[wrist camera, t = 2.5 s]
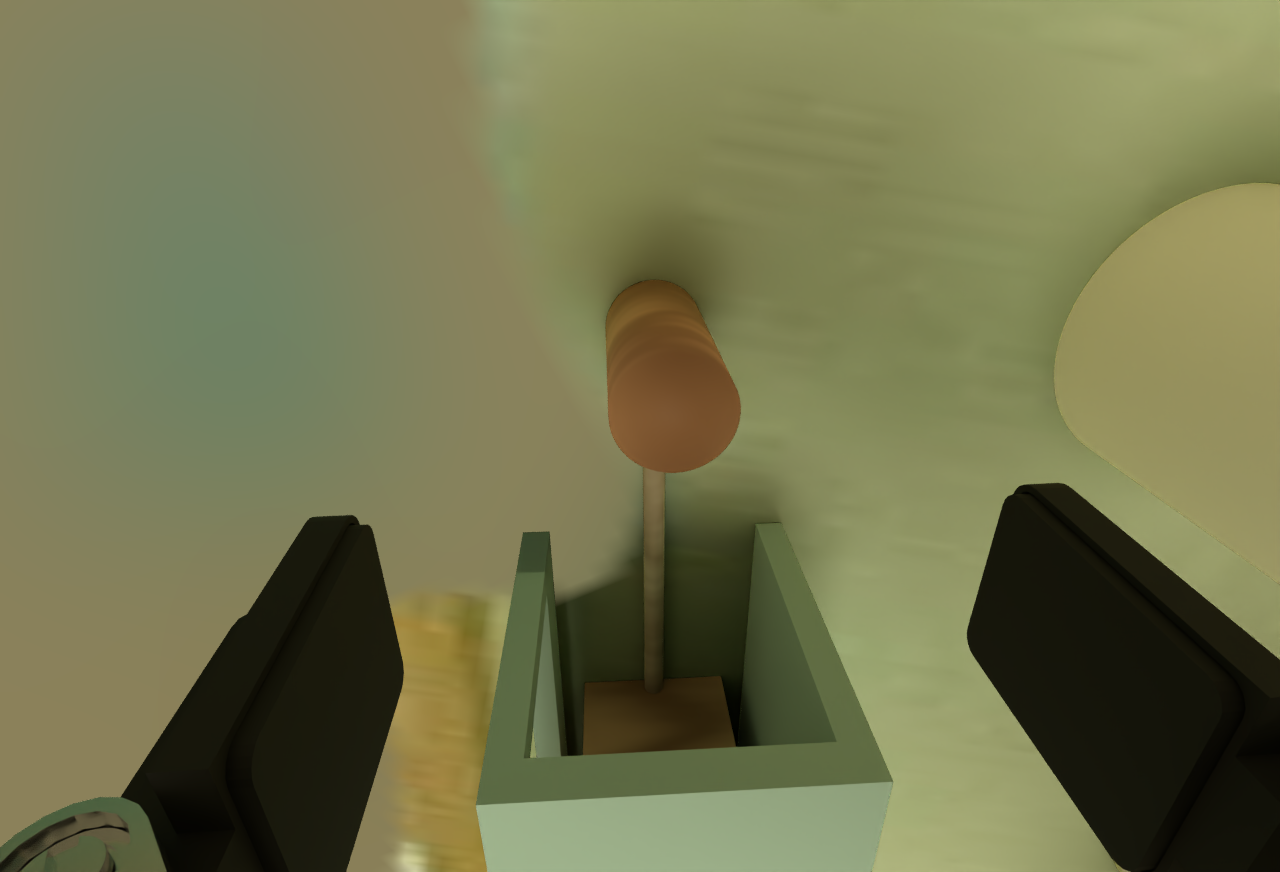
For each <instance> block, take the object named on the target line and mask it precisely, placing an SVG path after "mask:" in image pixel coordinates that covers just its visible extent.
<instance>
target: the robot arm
mask: <svg viewBox="0 0 1280 872" xmlns="http://www.w3.org/2000/svg"><path fill="white" fill-rule="evenodd" d="M967 640H968V645H969V648H970V651H971V653H972V654H973V656H974V657H975V659H976V660H977V662H978V663H979V665H980V666H981V668H982V669H983V671H984V672H985V674H986V675H987V677H988V678H989V679H990V681H991V682H992V684H993V685H994V687H995V688H996V690H997V691H998V693H999V694H1000V696H1001V697H1002V698H1003V700H1004V701H1005V703H1006V704H1007V706H1008V707H1009V709H1010V710H1011V712H1012V713H1013V715H1014V716H1015V717H1016V719H1017V720H1018V722H1019V723H1020V725H1021V726H1022V728H1023V729H1024V731H1025V732H1026V734H1027V735H1028V736H1029V738H1030V739H1031V741H1032V742H1033V744H1034V745H1035V747H1036V748H1037V750H1038V751H1039V753H1040V754H1041V755H1042V757H1043V758H1044V760H1045V761H1046V763H1047V764H1048V766H1049V767H1050V769H1051V770H1052V772H1053V773H1054V774H1055V776H1056V777H1057V779H1058V780H1059V782H1060V783H1061V785H1062V786H1063V788H1064V789H1065V791H1066V792H1067V793H1068V795H1069V796H1070V798H1071V799H1072V801H1073V802H1074V804H1075V805H1076V807H1077V808H1078V810H1079V811H1080V812H1081V814H1082V815H1083V817H1084V818H1085V820H1086V821H1087V823H1088V824H1089V826H1090V827H1091V829H1092V830H1093V831H1094V833H1095V834H1096V836H1097V837H1098V839H1099V840H1100V842H1101V843H1102V845H1103V846H1104V848H1105V849H1106V850H1107V852H1108V853H1109V855H1110V856H1111V858H1112V859H1113V860H1114V863H1115V865H1116V867H1117V869H1118V870H1119V872H1280V660H1279V659H1278V658H1277V657H1276V656H1275V655H1273V654H1272V653H1271V652H1270V651H1268V650H1267V649H1266V648H1265V647H1264V646H1262V645H1261V644H1260V643H1259V642H1258V641H1256V640H1255V639H1254V638H1253V637H1251V636H1250V635H1249V634H1248V633H1247V632H1245V631H1244V630H1243V629H1242V628H1241V627H1239V626H1238V625H1237V624H1236V623H1234V622H1233V621H1232V620H1231V619H1230V618H1228V617H1227V616H1226V615H1225V614H1224V613H1222V612H1221V611H1220V610H1219V609H1217V608H1216V607H1215V606H1214V605H1213V604H1211V603H1210V602H1209V601H1208V600H1207V599H1205V598H1204V597H1203V596H1202V595H1200V594H1199V593H1198V592H1197V591H1196V590H1194V589H1193V588H1192V587H1191V586H1189V585H1188V584H1187V583H1186V582H1185V581H1183V580H1182V579H1181V578H1180V577H1179V576H1177V575H1176V574H1175V573H1174V572H1172V571H1171V570H1170V569H1169V568H1168V567H1166V566H1165V565H1164V564H1163V563H1162V562H1160V561H1159V560H1158V559H1157V558H1155V557H1154V556H1153V555H1152V554H1151V553H1149V552H1148V551H1147V550H1146V549H1145V548H1143V547H1142V546H1141V545H1140V544H1138V543H1137V542H1136V541H1135V540H1134V539H1132V538H1131V537H1130V536H1129V535H1128V534H1126V533H1125V532H1124V531H1123V530H1121V529H1120V528H1119V527H1118V526H1117V525H1115V524H1114V523H1113V522H1112V521H1111V520H1109V519H1108V518H1107V517H1106V516H1104V515H1103V514H1102V513H1101V512H1100V511H1098V510H1097V509H1096V508H1095V507H1094V506H1092V505H1091V504H1090V503H1089V502H1087V501H1086V500H1085V499H1084V498H1083V497H1081V496H1080V495H1079V494H1078V493H1077V492H1075V491H1074V490H1073V489H1072V488H1070V487H1069V486H1067V485H1065V484H1062V483H1048V484H1026V485H1022V486H1019V487H1018V488H1017V489H1016V490H1015V492H1014V494H1013V495H1010V496H1008V497H1007V498H1006V499H1005V501H1004V503H1003V506H1002V510H1001V513H1000V517H999V520H998V524H997V527H996V531H995V534H994V538H993V541H992V545H991V548H990V552H989V555H988V559H987V562H986V566H985V569H984V573H983V576H982V580H981V583H980V587H979V590H978V594H977V597H976V601H975V604H974V608H973V611H972V615H971V618H970V622H969V625H968V629H967ZM403 675H404V670H403V661H402V656H401V652H400V648H399V643H398V639H397V635H396V630H395V626H394V621H393V617H392V613H391V608H390V604H389V600H388V595H387V591H386V587H385V582H384V578H383V573H382V569H381V565H380V561H379V556H378V552H377V547H376V543H375V538H374V534H373V531H372V528H371V527H370V526H369V525H360V524H359V521H358V520H357V518H356V517H355V516H353V515H346V516H323V517H312V518H309V520H308V521H307V522H306V523H305V525H304V526H303V528H302V529H301V531H300V533H299V534H298V536H297V537H296V539H295V540H294V542H293V543H292V545H291V546H290V548H289V550H288V551H287V553H286V554H285V556H284V557H283V559H282V561H281V562H280V564H279V565H278V567H277V568H276V570H275V571H274V573H273V575H272V576H271V578H270V579H269V581H268V583H267V584H266V586H265V587H264V589H263V590H262V592H261V594H260V595H259V596H258V598H257V600H256V601H255V603H254V604H253V606H252V607H251V609H250V610H249V612H248V614H247V615H245V616H243V617H241V618H239V619H238V620H237V622H236V623H235V624H234V625H233V626H232V627H231V629H230V631H229V632H228V634H227V635H226V637H225V638H224V640H223V641H222V643H221V645H220V646H219V648H218V649H217V650H216V652H215V654H214V655H213V657H212V658H211V660H210V661H209V663H208V664H207V666H206V667H205V669H204V670H203V672H202V673H201V675H200V676H199V678H198V679H197V681H196V683H195V684H194V686H193V687H192V689H191V690H190V692H189V693H188V695H187V696H186V698H185V699H184V701H183V702H182V704H181V705H180V707H179V709H178V710H177V712H176V713H175V715H174V716H173V718H172V719H171V721H170V722H169V724H168V725H167V727H166V728H165V730H164V731H163V733H162V734H161V736H160V738H159V739H158V741H157V742H156V744H155V745H154V747H153V748H152V750H151V751H150V753H149V754H148V756H147V757H146V759H145V761H144V762H143V764H142V765H141V767H140V768H139V770H138V771H137V773H136V774H135V776H134V777H133V779H132V780H131V782H130V783H129V785H128V787H127V788H126V790H125V791H124V793H123V794H122V796H121V797H98V798H94V799H90V800H86V801H82V802H78V803H74V804H71V805H69V806H67V807H64V808H62V809H60V810H58V811H55V812H53V813H51V814H49V815H46V816H44V817H42V818H41V819H39V820H38V821H36V822H35V823H33V824H31V825H30V826H28V827H27V828H25V829H23V830H22V831H20V832H19V833H17V834H15V835H14V836H13V837H12V838H11V839H10V840H8V841H7V842H6V843H5V844H4V845H2V846H1V847H0V872H346V870H347V867H348V864H349V861H350V857H351V854H352V850H353V847H354V844H355V841H356V837H357V834H358V831H359V828H360V824H361V821H362V818H363V814H364V811H365V808H366V805H367V801H368V798H369V795H370V791H371V788H372V785H373V782H374V778H375V775H376V772H377V768H378V765H379V762H380V759H381V755H382V752H383V749H384V745H385V742H386V739H387V736H388V732H389V729H390V726H391V722H392V719H393V716H394V713H395V709H396V706H397V703H398V699H399V696H400V693H401V689H402V685H403Z"/></svg>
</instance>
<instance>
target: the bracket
mask: <svg viewBox="0 0 1280 872" xmlns="http://www.w3.org/2000/svg"><path fill="white" fill-rule="evenodd" d="M1054 388H1055V396H1056V400H1057V404H1058V408H1059V410H1060V413H1061V415H1062V418H1063V420H1064V421H1065V423H1066V425H1067V427H1068V428H1069V430H1070V431H1071V432H1072V433H1073V435H1074V436H1075V437H1076V438H1077V439H1078V440H1079V441H1080V442H1081V443H1082V444H1084V445H1085V446H1086V447H1088V448H1089V449H1090V450H1092V451H1093V452H1094V453H1096V454H1097V455H1099V456H1100V457H1101V458H1103V459H1104V460H1106V461H1107V462H1108V463H1110V464H1111V465H1113V466H1114V467H1115V468H1117V469H1118V470H1120V471H1121V472H1123V473H1124V474H1125V475H1127V476H1128V477H1130V478H1131V479H1132V480H1134V481H1135V482H1137V483H1138V484H1139V485H1141V486H1142V487H1144V488H1145V489H1146V490H1148V491H1149V492H1151V493H1152V494H1153V495H1155V496H1156V497H1158V498H1159V499H1160V500H1162V501H1163V502H1165V503H1166V504H1167V505H1169V506H1170V507H1172V508H1173V509H1174V510H1176V511H1177V512H1179V513H1180V514H1181V515H1183V516H1184V517H1186V518H1187V519H1189V520H1190V521H1191V522H1193V523H1194V524H1196V525H1197V526H1198V527H1200V528H1201V529H1203V530H1204V531H1205V532H1207V533H1208V534H1210V535H1211V536H1212V537H1214V538H1215V539H1217V540H1218V541H1219V542H1221V543H1222V544H1224V545H1225V546H1226V547H1228V548H1229V549H1231V550H1232V551H1233V552H1235V553H1236V554H1238V555H1239V556H1240V557H1242V558H1243V559H1245V560H1246V561H1247V562H1249V563H1250V564H1252V565H1253V566H1255V567H1256V568H1257V569H1259V570H1260V571H1262V572H1263V573H1264V574H1266V575H1267V576H1269V577H1270V578H1271V579H1273V580H1274V581H1276V582H1277V583H1278V584H1280V184H1272V183H1248V184H1239V185H1233V186H1228V187H1223V188H1219V189H1216V190H1213V191H1209V192H1206V193H1203V194H1201V195H1198V196H1196V197H1193V198H1191V199H1188V200H1186V201H1184V202H1182V203H1180V204H1178V205H1176V206H1174V207H1172V208H1170V209H1169V210H1167V211H1165V212H1164V213H1162V214H1160V215H1158V216H1157V217H1155V218H1154V219H1152V220H1151V221H1150V222H1148V223H1147V224H1145V225H1144V226H1142V227H1141V228H1140V229H1139V230H1137V231H1136V232H1135V233H1134V234H1132V235H1131V236H1130V237H1129V238H1128V239H1126V240H1125V241H1124V242H1123V243H1122V244H1121V245H1120V246H1119V247H1118V248H1117V249H1116V250H1115V251H1114V252H1113V253H1112V254H1111V255H1110V256H1109V257H1108V258H1107V259H1106V260H1105V261H1104V262H1103V264H1102V265H1101V266H1100V267H1099V268H1098V270H1097V271H1096V272H1095V273H1094V275H1093V276H1092V277H1091V279H1090V280H1089V281H1088V283H1087V284H1086V286H1085V287H1084V289H1083V290H1082V292H1081V293H1080V295H1079V297H1078V299H1077V300H1076V302H1075V304H1074V305H1073V308H1072V310H1071V312H1070V314H1069V316H1068V318H1067V320H1066V323H1065V325H1064V328H1063V330H1062V333H1061V337H1060V340H1059V343H1058V347H1057V352H1056V357H1055V366H1054Z"/></svg>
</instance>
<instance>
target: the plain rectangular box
mask: <svg viewBox="0 0 1280 872" xmlns="http://www.w3.org/2000/svg"><path fill="white" fill-rule="evenodd" d="M533 730H534V739H535V748H536V757H537V758H530V751H531V742H532V732H533ZM892 785H893V780H892V777H891V775H890V773H889V771H888V768H887V766H886V764H885V761H884V759H883V757H882V754H881V752H880V750H879V747H878V745H877V743H876V741H875V738H874V736H873V734H872V731H871V729H870V727H869V724H868V722H867V720H866V717H865V715H864V713H863V711H862V708H861V706H860V704H859V701H858V699H857V697H856V694H855V692H854V690H853V687H852V685H851V683H850V681H849V678H848V676H847V674H846V671H845V669H844V667H843V664H842V662H841V660H840V657H839V655H838V653H837V651H836V648H835V646H834V644H833V641H832V639H831V637H830V634H829V632H828V630H827V628H826V625H825V623H824V621H823V618H822V616H821V614H820V611H819V609H818V607H817V604H816V602H815V600H814V598H813V595H812V593H811V591H810V588H809V586H808V584H807V581H806V579H805V577H804V574H803V572H802V570H801V568H800V565H799V563H798V561H797V558H796V556H795V554H794V551H793V549H792V547H791V544H790V542H789V540H788V538H787V535H786V533H785V531H784V528H783V526H782V524H781V523H762V524H756V526H755V539H754V551H753V563H752V575H751V587H750V599H749V612H748V624H747V636H746V648H745V660H744V673H743V685H742V697H741V709H740V721H739V734H738V746H737V747H730V748H711V749H693V750H674V751H655V752H636V753H618V754H599V755H580V756H568V755H567V743H566V730H565V718H564V706H563V693H562V681H561V669H560V656H559V644H558V632H557V619H556V607H555V595H554V582H553V571H552V558H551V545H550V534H549V532H527V533H526V532H525V533H523V537H522V542H521V548H520V554H519V560H518V566H517V571H516V577H515V583H514V588H513V594H512V600H511V606H510V611H509V617H508V623H507V629H506V635H505V640H504V646H503V652H502V658H501V663H500V669H499V675H498V681H497V686H496V692H495V698H494V704H493V710H492V715H491V721H490V727H489V733H488V738H487V744H486V750H485V756H484V761H483V767H482V773H481V779H480V784H479V790H478V796H477V802H476V809H477V814H478V820H479V826H480V831H481V837H482V842H483V848H484V854H485V859H486V865H487V871H488V872H872V869H873V865H874V861H875V857H876V852H877V848H878V844H879V840H880V836H881V831H882V827H883V823H884V819H885V815H886V811H887V806H888V802H889V798H890V794H891V790H892Z"/></svg>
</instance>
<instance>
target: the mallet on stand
mask: <svg viewBox="0 0 1280 872" xmlns="http://www.w3.org/2000/svg"><path fill="white" fill-rule="evenodd" d="M606 356H607V386H608V417H609V426H610V430H611V433H612V435H613V438H614V440H615V442H616V443H617V445H618V447H619V448H620V449H621V451H622V452H623V453H624V454H625V455H626V456H627V457H628V458H630V459H631V460H632V461H634V462H635V463H637V464H639V465H641V466H642V467H643V521H644V679H645V680H631V681H610V682H589V683H585V691H584V734H583V755H599V754H618V753H636V752H655V751H674V750H693V749H711V748H730V747H736V745H735V740H734V736H733V731H732V726H731V722H730V717H729V712H728V708H727V703H726V698H725V693H724V689H723V684H722V679H721V676H713V677H693V678H672V679H663V633H664V536H665V473H677V472H685V471H689V470H693V469H696V468H699V467H701V466H703V465H705V464H707V463H709V462H710V461H712V460H713V459H715V458H716V457H717V456H718V455H720V454H721V453H722V452H723V451H724V450H725V449H726V447H727V446H728V445H729V443H730V442H731V440H732V439H733V437H734V435H735V433H736V431H737V428H738V425H739V421H740V414H741V405H740V398H739V395H738V391H737V389H736V387H735V384H734V382H733V380H732V378H731V376H730V374H729V372H728V370H727V368H726V366H725V364H724V362H723V359H722V357H721V355H720V353H719V351H718V349H717V347H716V345H715V343H714V341H713V339H712V337H711V334H710V332H709V330H708V328H707V326H706V324H705V322H704V320H703V318H702V316H701V314H700V312H699V309H698V307H697V305H696V303H695V302H694V300H693V299H692V297H691V296H690V295H689V294H688V293H687V292H686V291H685V290H684V289H682V288H681V287H679V286H677V285H675V284H673V283H670V282H667V281H662V280H647V281H642V282H639V283H636V284H634V285H632V286H630V287H628V288H627V289H625V290H624V291H623V292H622V293H621V294H619V295H618V297H617V298H616V299H615V300H614V302H613V303H612V305H611V307H610V309H609V312H608V315H607V319H606Z"/></svg>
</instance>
